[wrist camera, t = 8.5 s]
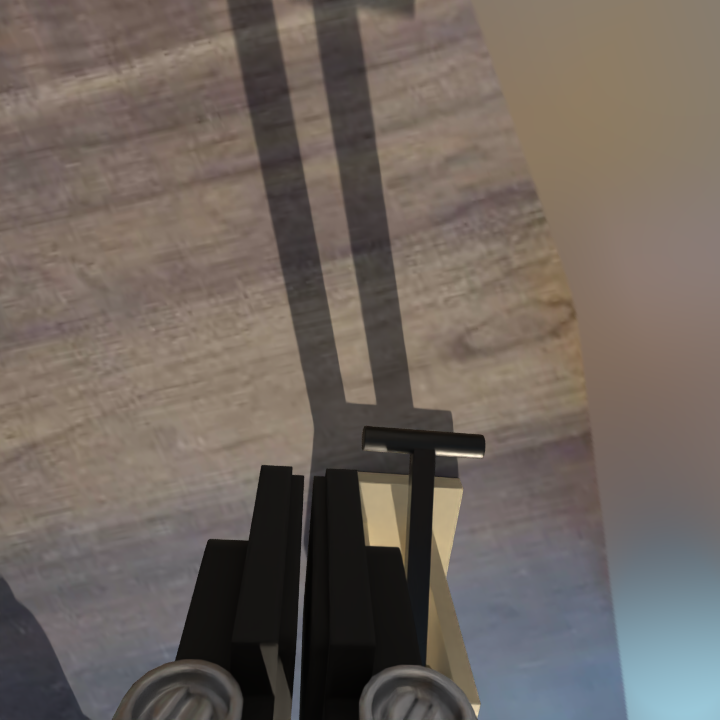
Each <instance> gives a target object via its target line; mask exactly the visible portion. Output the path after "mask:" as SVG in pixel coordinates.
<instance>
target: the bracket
mask: <svg viewBox="0 0 720 720" xmlns="http://www.w3.org/2000/svg"><path fill="white" fill-rule="evenodd" d="M358 480H359V490H360V499H361V509H362V518H363V528H364V537H365V546H387V547H399V548H400V550H401V554H402V559H403V564H404V562H405V543H406V523H407V504H408V484H409V475H400V474H385V473H370V472H358ZM462 493H463V487H462V484H461V482H460V479H459V478H444V477H434V500H433V522H432V545H431V567H430V590H429V612H428V635H427V658H426V665H430V667H431V668H432V669H433V670H436V671H437V672H439V673H441V674H443V675H445V676H446V677H448V678H450V679H451V680H452V681H453V682H454V683H455V684H456V685H457V686H458V687H459V688H461V689H462V690H463V692H464V693H465V695H466V697H467V698H468V700H469V702H470V703H471V705H472V707H473V709H474V712H475V714H476V717H478V712H479V708H480V704H481V703H480V700H479V696H478V693H477V689H476V685H475V682H474V678H473V674H472V671H471V667H470V663H469V660H468V656H467V653H466V649H465V645H464V642H463V638H462V634H461V631H460V627H459V623H458V620H457V616H456V613H455V609H454V605H453V602H452V598H451V594H450V591H449V587H448V583H447V580H446V575H447V570H448V565H449V560H450V554H451V549H452V544H453V539H454V534H455V529H456V524H457V519H458V514H459V509H460V503H461V498H462Z"/></svg>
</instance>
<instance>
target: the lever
mask: <svg viewBox="0 0 720 720" xmlns="http://www.w3.org/2000/svg"><path fill="white" fill-rule="evenodd" d="M362 450H364V451H377V452H391V453H405V454H410V465H409V484H408V504H407V523H406V543H405V562H404V569H405V575H406V580H407V585H408V591H409V596H410V601H411V607H412V612H413V618H414V623H415V628H416V634H417V639H418V644H419V650H420V655H421V660H422V666H423V667H426V668H430V669H432V668H431V667H430V665H426V658H427V635H428V612H429V590H430V567H431V545H432V522H433V500H434V477H435V456H448V457H462V458H476V459H481V458H483V456H484V453H485V438H484V436H483V435H479V434H466V433H453V432H439V431H426V430H412V429H399V428H385V427H372V426H364V428H363V433H362Z"/></svg>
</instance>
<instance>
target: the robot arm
mask: <svg viewBox="0 0 720 720" xmlns="http://www.w3.org/2000/svg"><path fill="white" fill-rule="evenodd" d="M303 490H304V476H303V475H292V467H289V466H270V465H262V466H261V471H260V477H259V482H258V488H257V494H256V500H255V506H254V512H253V518H252V523H251V529H250V535H249V541H244V540H220V539H209V540H208V542H207V545H206V548H205V551H204V555H203V559H202V563H201V566H200V570H199V574H198V577H197V581H196V585H195V589H194V592H193V596H192V600H191V603H190V607H189V611H188V615H187V618H186V622H185V626H184V630H183V633H182V637H181V641H180V644H179V648H178V652H177V656H176V659H175V661H174V662H169V663H165V664H163V665H161V666H159V667H157V668H155V669H153V670H151V671H148V672H147V673H146V674H145V675H144V676H142V677H141V678H140V679H139V680H137V681H136V682H135V683H134V684H133V685H132V687H131V688H130V689H129V691H128V692H127V693H126V695H125V696H124V698H123V699H122V701H121V703H120V705H119V707H118V709H117V711H116V713H115V714H114V716H113V718H112V720H291V709H292V696H293V682H294V669H295V656H296V640H297V621H298V599H299V577H300V556H301V534H302V512H303ZM299 720H478V719H477V717H476V714H475V712H474V709H473V707H472V705H471V703H470V702H469V700H468V698H467V697H466V695H465V693H464V692H463V690H462V689H461V688H459V687H458V686H457V685H456V684H455V683H454V682H453V681H452V680H451V679H450V678H448V677H446V676H445V675H443V674H441V673H439V672H437V671H436V670H433V669H430V668H426V667H423V666H422V660H421V655H420V650H419V644H418V639H417V634H416V628H415V623H414V618H413V612H412V607H411V601H410V596H409V591H408V585H407V580H406V575H405V569H404V564H403V559H402V554H401V550H400V548H399V547H387V546H365V537H364V528H363V518H362V509H361V499H360V490H359V480H358V472H357V470H346V469H326V476H325V477H323V476H314V480H313V493H312V505H311V518H310V530H309V543H308V556H307V568H306V581H305V593H304V608H303V630H302V658H301V686H300V715H299Z"/></svg>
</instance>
